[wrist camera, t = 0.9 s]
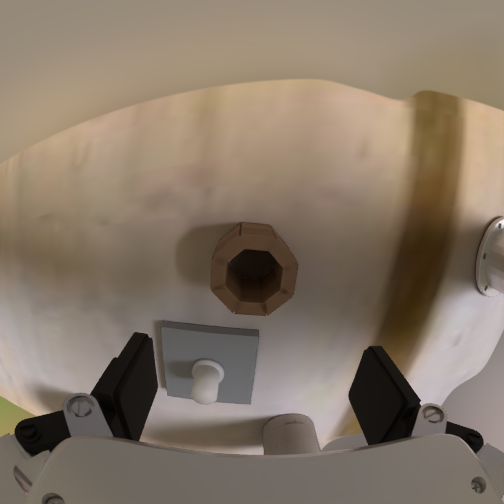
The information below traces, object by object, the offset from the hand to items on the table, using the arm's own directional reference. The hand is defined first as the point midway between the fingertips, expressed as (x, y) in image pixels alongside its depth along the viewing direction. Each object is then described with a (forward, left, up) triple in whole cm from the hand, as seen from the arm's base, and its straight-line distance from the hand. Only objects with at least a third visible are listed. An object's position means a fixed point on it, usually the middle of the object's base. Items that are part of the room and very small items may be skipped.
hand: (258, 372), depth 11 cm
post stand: (+4, +14, -18) cm, 23 cm away
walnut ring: (0, 0, -18) cm, 18 cm away
